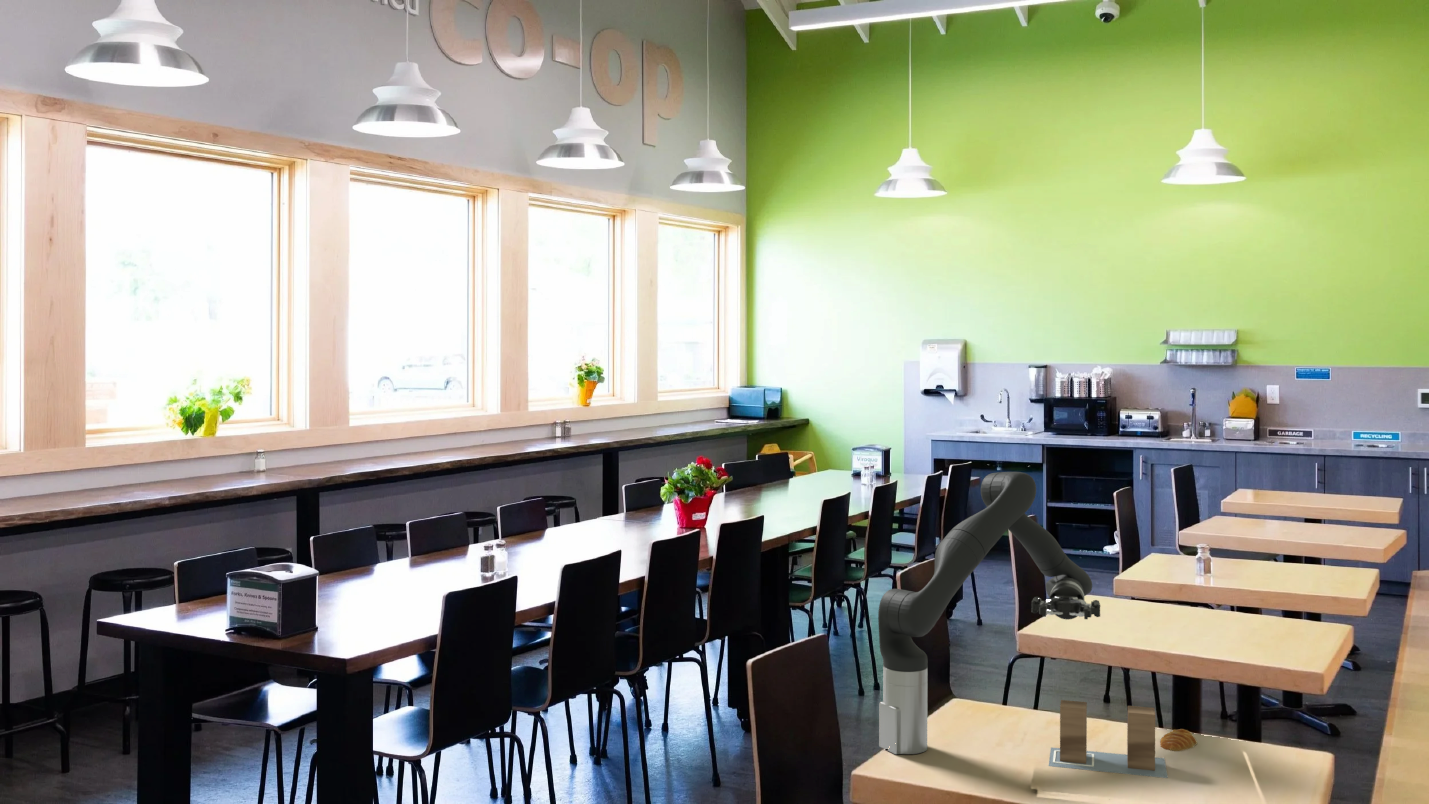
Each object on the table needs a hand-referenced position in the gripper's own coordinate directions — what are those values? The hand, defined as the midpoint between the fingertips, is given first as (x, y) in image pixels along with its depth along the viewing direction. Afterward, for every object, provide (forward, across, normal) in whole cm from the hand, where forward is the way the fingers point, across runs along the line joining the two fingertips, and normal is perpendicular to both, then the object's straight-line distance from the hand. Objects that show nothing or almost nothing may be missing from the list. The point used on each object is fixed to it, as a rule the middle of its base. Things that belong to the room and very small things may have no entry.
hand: (1065, 613), depth 245 cm
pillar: (+13, +2, +27) cm, 30 cm away
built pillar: (+13, +15, +27) cm, 33 cm away
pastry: (-4, +23, +28) cm, 37 cm away
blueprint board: (+13, +8, +28) cm, 32 cm away
